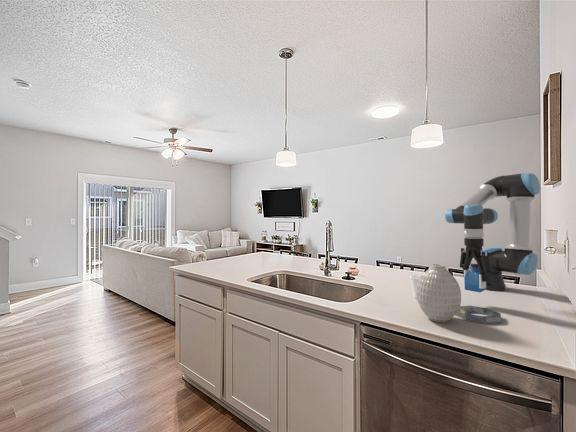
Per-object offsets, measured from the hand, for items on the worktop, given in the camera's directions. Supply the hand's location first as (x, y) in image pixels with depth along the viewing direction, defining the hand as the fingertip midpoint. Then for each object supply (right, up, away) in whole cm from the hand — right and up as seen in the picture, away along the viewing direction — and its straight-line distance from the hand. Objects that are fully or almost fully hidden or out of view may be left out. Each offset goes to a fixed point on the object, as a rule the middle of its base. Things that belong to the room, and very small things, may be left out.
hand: (474, 285), depth 131 cm
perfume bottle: (0, -2, 0) cm, 2 cm away
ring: (-9, -9, -14) cm, 19 cm away
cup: (-20, -10, +11) cm, 25 cm away
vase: (-26, -10, -17) cm, 33 cm away
